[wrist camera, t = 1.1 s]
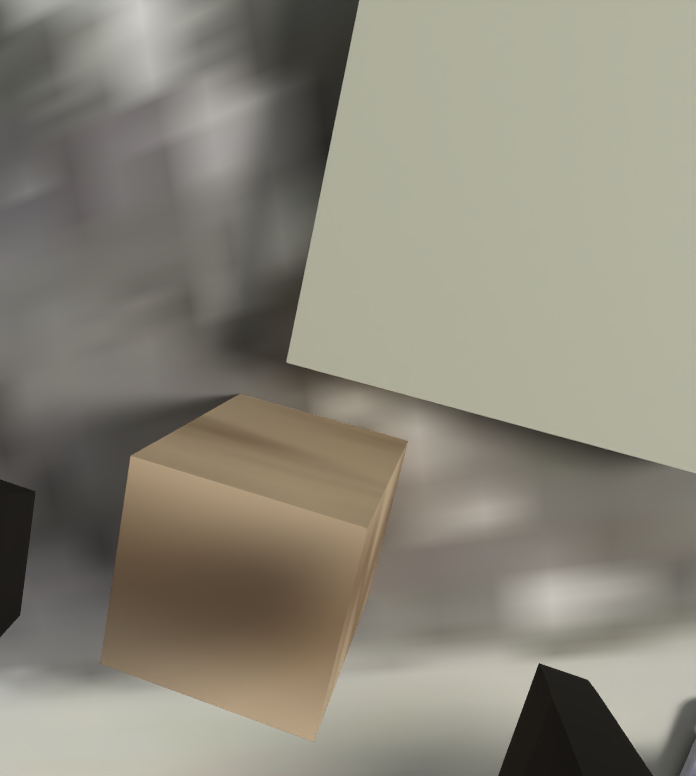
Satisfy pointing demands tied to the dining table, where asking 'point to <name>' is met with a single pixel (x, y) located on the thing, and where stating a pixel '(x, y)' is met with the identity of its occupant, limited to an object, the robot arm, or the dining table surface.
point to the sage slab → (516, 217)
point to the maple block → (250, 558)
